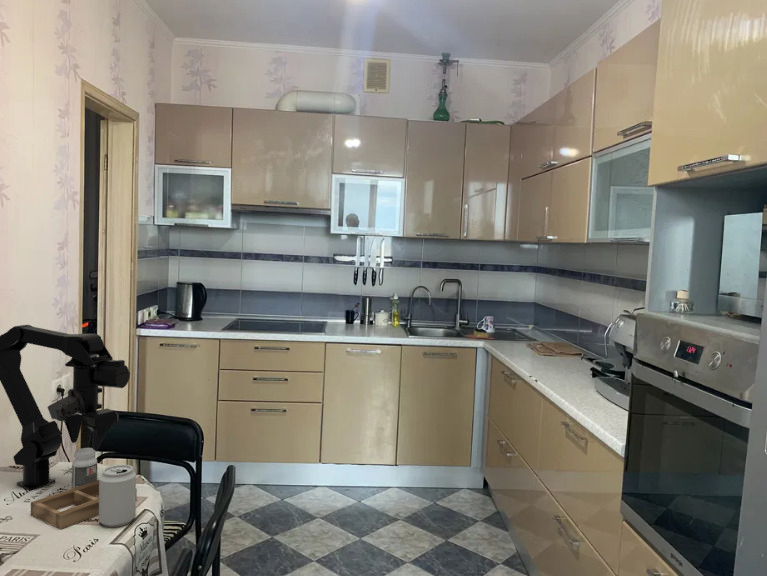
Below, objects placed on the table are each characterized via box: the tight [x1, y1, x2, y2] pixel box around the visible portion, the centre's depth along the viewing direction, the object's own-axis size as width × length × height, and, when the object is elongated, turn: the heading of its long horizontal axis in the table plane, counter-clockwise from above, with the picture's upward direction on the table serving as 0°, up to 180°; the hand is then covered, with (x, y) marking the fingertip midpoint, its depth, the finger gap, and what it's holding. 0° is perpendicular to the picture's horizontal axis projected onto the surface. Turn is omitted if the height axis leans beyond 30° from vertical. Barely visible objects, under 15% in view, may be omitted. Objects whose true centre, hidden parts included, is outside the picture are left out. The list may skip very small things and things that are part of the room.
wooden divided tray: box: [30, 479, 138, 530], centre depth 135 cm, size 12×18×3 cm, turn 149°
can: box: [98, 464, 137, 528], centre depth 129 cm, size 8×8×12 cm
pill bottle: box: [71, 447, 98, 489], centre depth 145 cm, size 6×6×10 cm
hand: (84, 446), depth 145 cm, fingers open, 9 cm apart
